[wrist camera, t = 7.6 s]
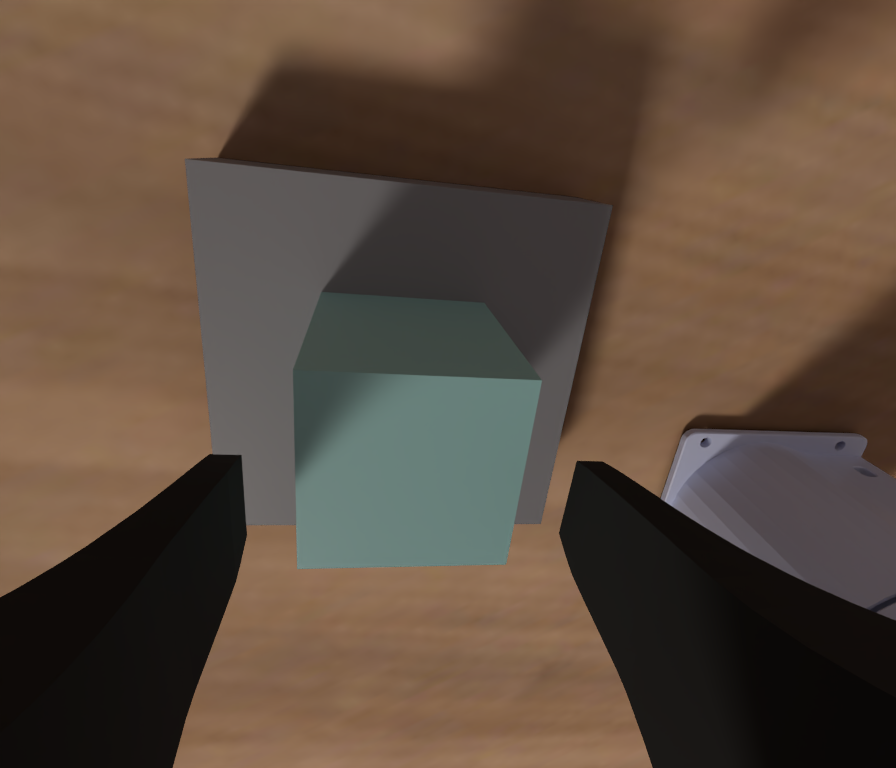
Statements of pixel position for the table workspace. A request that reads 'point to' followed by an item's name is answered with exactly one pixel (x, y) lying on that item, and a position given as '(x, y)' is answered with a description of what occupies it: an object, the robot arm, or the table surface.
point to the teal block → (408, 433)
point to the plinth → (374, 292)
